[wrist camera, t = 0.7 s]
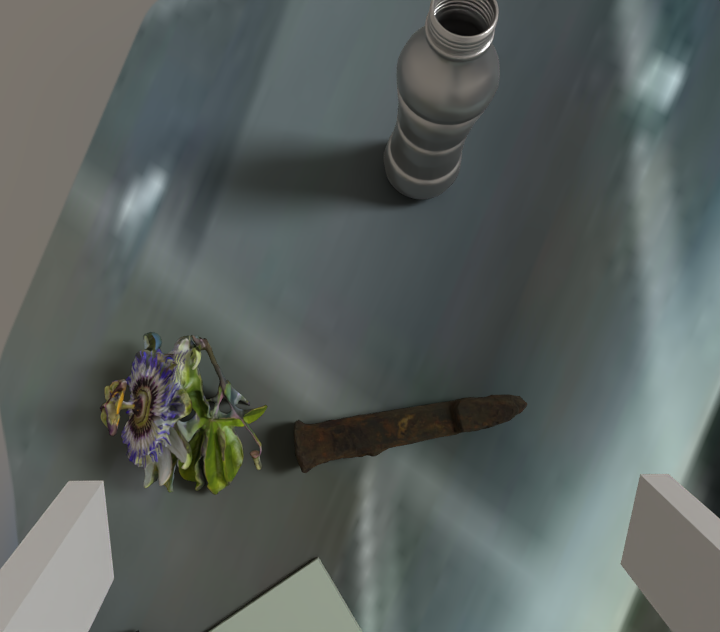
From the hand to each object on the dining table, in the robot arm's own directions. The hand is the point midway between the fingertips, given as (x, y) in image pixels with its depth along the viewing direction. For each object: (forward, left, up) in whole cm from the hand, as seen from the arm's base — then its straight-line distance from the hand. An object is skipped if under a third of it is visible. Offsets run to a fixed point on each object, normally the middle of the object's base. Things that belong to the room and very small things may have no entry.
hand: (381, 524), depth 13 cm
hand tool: (0, -4, -31) cm, 32 cm away
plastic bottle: (+17, -17, -31) cm, 40 cm away
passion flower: (+9, +10, -31) cm, 34 cm away
